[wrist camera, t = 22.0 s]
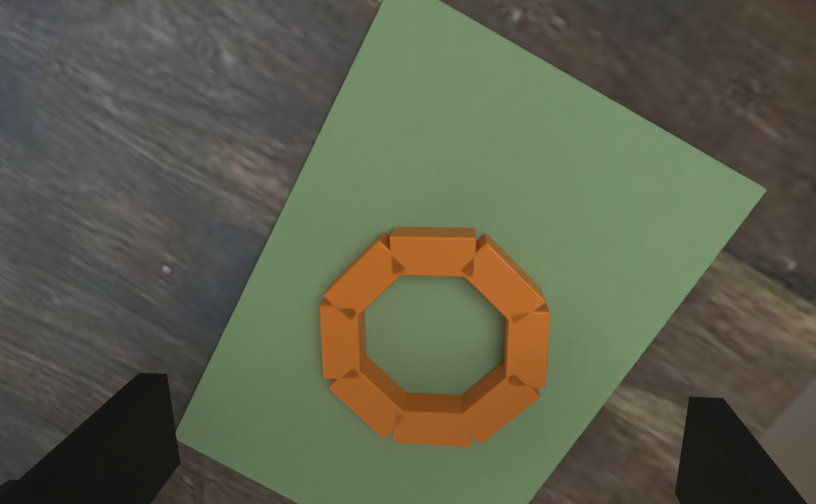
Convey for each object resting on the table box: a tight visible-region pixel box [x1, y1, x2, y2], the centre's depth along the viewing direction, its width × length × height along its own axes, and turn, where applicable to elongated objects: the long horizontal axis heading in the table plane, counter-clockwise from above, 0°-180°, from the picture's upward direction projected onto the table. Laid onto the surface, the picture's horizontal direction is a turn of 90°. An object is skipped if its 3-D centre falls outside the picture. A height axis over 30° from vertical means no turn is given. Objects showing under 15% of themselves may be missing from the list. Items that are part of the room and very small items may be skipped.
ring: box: [319, 227, 550, 447], centre depth 21 cm, size 8×8×1 cm
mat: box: [176, 0, 766, 504], centre depth 22 cm, size 20×14×1 cm
